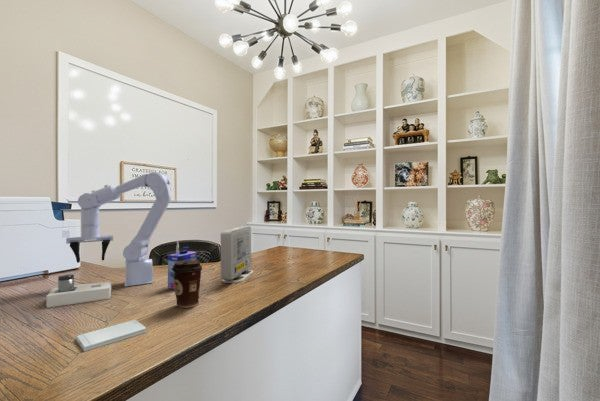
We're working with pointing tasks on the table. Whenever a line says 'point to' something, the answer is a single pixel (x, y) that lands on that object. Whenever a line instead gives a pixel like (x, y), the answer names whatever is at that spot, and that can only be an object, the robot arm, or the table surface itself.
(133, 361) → the table surface
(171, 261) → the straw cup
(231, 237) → the network device
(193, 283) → the coffee cup
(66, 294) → the block
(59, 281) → the pipe stub
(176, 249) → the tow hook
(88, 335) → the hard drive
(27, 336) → the table surface
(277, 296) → the table surface
